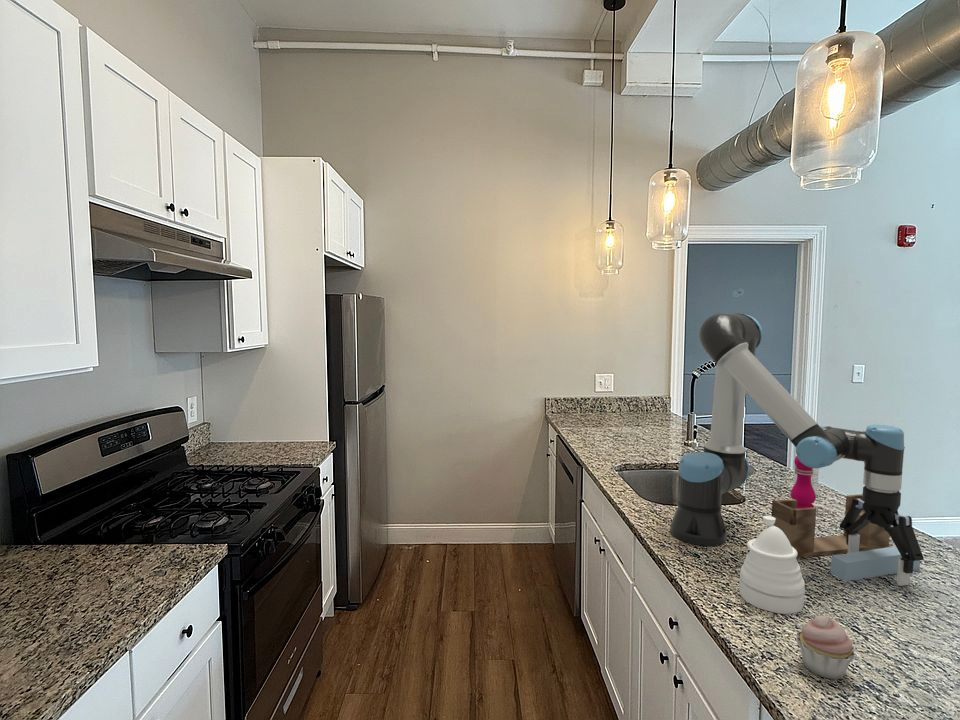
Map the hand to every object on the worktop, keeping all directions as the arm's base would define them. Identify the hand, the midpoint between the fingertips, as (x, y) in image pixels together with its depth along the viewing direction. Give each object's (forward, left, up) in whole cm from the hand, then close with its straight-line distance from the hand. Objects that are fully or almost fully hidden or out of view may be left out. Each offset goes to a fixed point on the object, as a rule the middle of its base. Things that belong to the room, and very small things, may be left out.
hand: (876, 571), depth 132 cm
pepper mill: (+16, +41, 0) cm, 44 cm away
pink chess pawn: (+28, +53, 0) cm, 60 cm away
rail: (0, 0, 0) cm, 1 cm away
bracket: (0, +14, 0) cm, 14 cm away
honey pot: (-35, -6, 0) cm, 36 cm away
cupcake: (-43, -29, 0) cm, 52 cm away
